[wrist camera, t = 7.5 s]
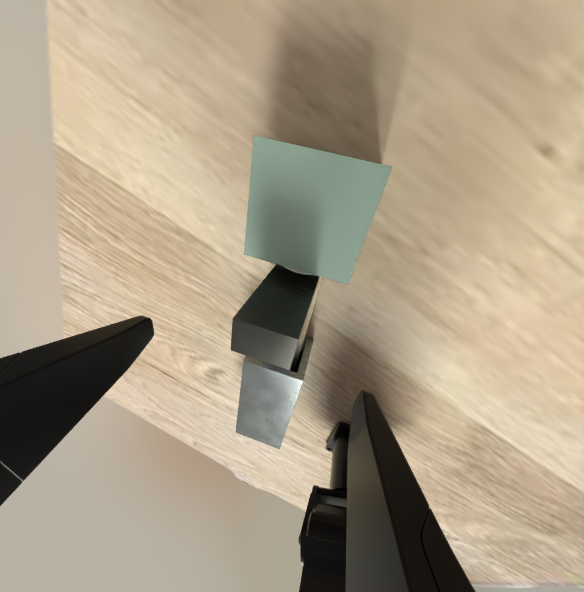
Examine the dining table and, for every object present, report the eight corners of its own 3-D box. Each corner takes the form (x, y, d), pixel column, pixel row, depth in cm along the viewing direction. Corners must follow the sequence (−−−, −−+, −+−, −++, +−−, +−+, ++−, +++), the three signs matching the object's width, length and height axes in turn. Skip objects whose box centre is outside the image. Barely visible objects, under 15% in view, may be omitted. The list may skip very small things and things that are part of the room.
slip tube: (293, 375, 25) (263, 473, 17) (264, 365, 25) (221, 456, 17) (345, 203, 15) (330, 248, 7) (296, 191, 16) (233, 221, 8)
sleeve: (291, 406, 29) (279, 449, 25) (253, 393, 30) (235, 432, 26) (313, 339, 23) (302, 380, 19) (265, 323, 23) (243, 360, 19)
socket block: (350, 252, 18) (347, 284, 13) (272, 231, 18) (244, 254, 14) (381, 165, 14) (392, 166, 10) (285, 143, 15) (253, 135, 11)
